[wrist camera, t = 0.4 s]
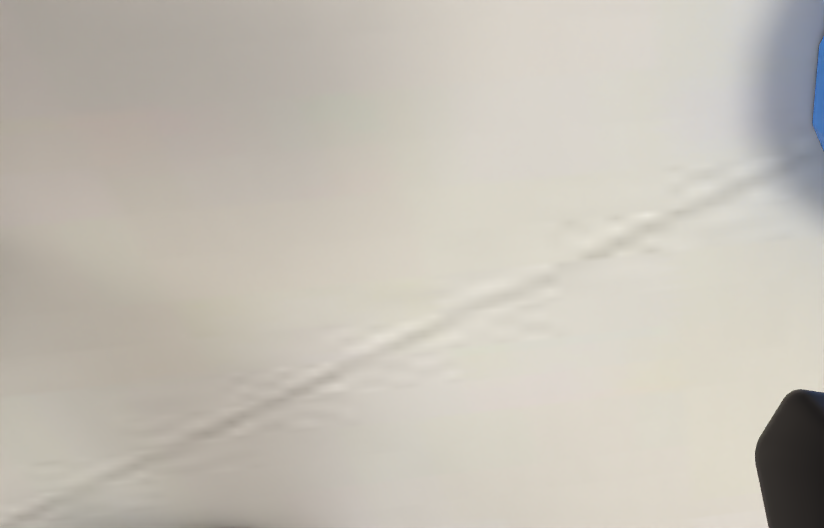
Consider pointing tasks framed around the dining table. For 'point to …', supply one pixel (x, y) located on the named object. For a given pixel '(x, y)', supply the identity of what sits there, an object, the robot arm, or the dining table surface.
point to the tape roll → (819, 97)
